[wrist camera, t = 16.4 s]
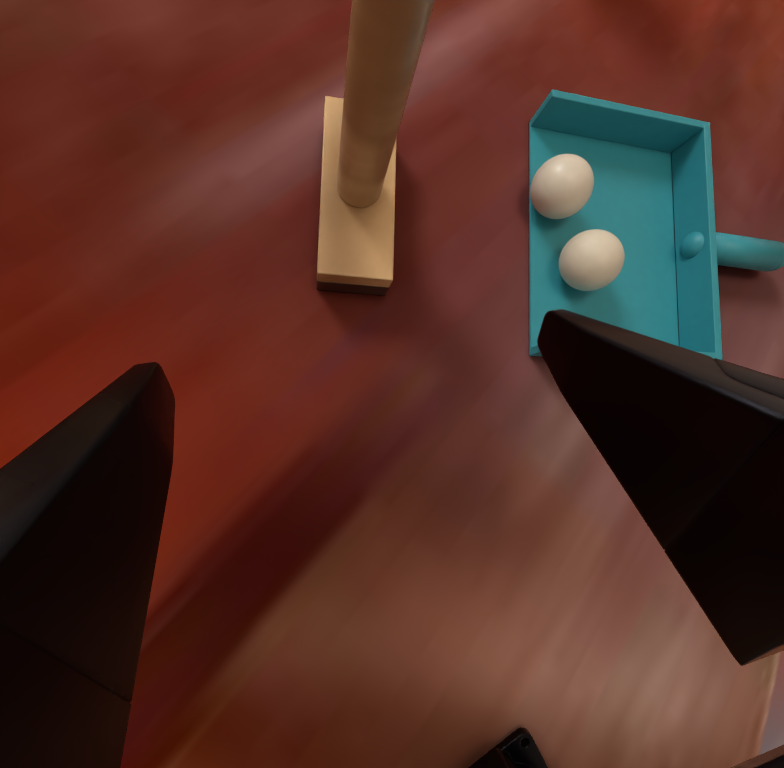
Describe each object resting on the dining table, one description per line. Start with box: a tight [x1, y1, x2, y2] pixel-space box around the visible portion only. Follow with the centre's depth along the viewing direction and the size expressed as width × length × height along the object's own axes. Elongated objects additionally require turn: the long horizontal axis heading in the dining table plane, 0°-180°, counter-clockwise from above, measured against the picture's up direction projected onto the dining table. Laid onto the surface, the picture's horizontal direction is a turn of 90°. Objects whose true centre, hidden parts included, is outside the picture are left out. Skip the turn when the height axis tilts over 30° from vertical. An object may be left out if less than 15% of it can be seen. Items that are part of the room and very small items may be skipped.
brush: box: [317, 0, 435, 295], centre depth 17 cm, size 4×10×13 cm, turn 179°
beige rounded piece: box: [559, 229, 625, 291], centre depth 24 cm, size 4×4×4 cm
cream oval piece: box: [530, 154, 594, 219], centre depth 24 cm, size 4×4×4 cm
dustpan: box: [529, 90, 784, 360], centre depth 26 cm, size 18×16×3 cm
